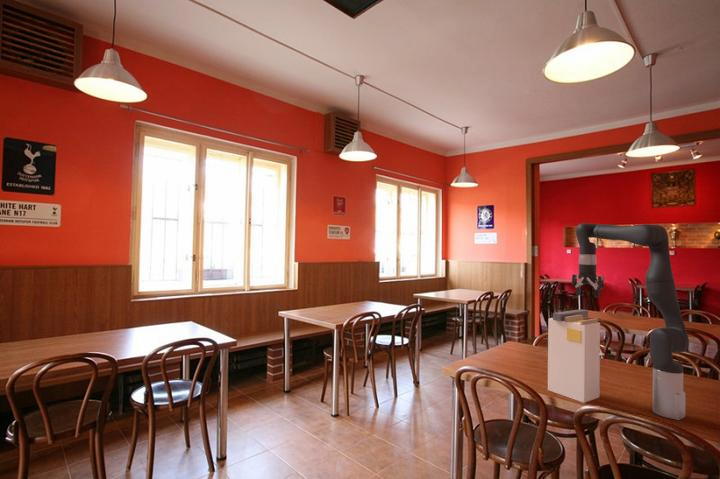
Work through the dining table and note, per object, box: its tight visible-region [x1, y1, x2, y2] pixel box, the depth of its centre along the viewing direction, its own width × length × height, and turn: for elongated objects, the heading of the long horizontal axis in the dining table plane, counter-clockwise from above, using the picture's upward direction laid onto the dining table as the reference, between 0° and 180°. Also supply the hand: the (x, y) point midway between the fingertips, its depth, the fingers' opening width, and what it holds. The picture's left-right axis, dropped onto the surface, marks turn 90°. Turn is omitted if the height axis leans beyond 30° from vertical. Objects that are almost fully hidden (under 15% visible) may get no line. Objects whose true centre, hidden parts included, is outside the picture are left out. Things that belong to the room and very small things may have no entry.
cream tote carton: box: [547, 315, 601, 404], centre depth 167 cm, size 16×12×34 cm
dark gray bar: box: [552, 309, 589, 321], centre depth 172 cm, size 4×22×3 cm, turn 121°
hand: (587, 296), depth 188 cm, fingers open, 8 cm apart
